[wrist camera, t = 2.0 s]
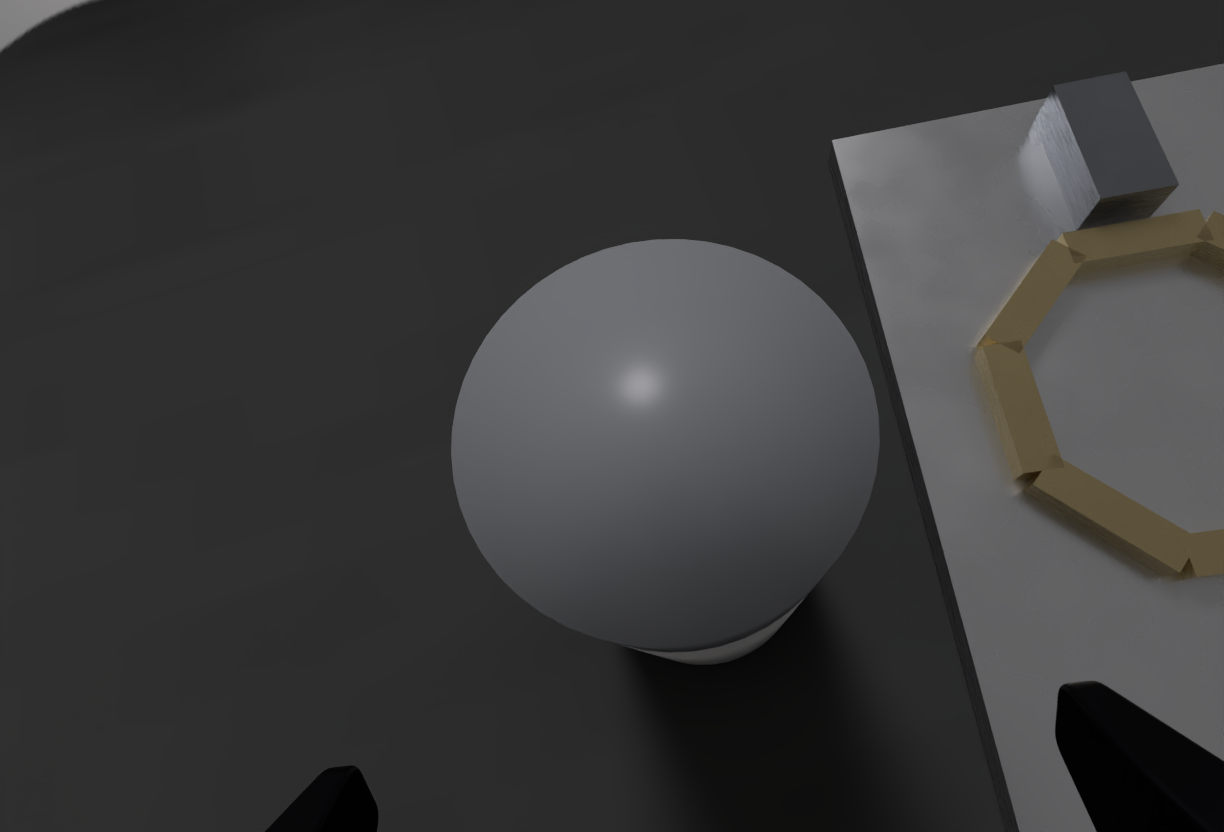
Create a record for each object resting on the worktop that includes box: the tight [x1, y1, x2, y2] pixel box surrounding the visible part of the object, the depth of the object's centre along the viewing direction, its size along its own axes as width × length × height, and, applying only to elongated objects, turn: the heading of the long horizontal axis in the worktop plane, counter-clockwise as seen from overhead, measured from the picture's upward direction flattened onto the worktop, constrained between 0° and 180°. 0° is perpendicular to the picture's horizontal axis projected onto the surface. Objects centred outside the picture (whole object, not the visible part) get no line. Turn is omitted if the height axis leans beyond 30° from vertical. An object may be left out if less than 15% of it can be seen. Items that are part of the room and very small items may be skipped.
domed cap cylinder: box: [451, 239, 880, 665], centre depth 15 cm, size 6×6×12 cm
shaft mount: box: [828, 64, 1224, 832], centre depth 19 cm, size 20×14×2 cm
